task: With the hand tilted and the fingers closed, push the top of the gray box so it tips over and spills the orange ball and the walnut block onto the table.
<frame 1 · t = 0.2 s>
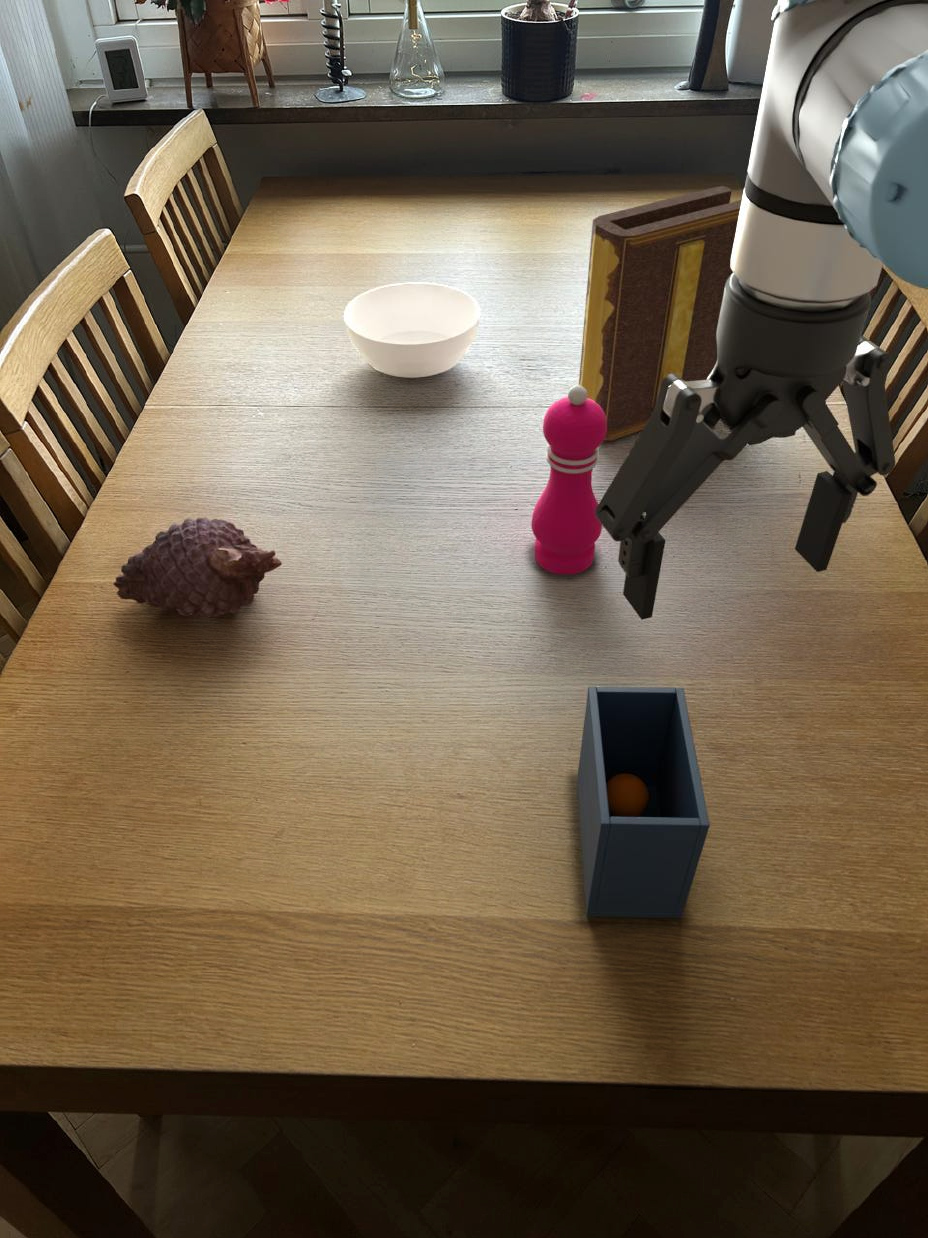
hand: (725, 582, 64), 21 cm above the table, tool pointing down, fingers open, 13 cm apart
walnut block: (630, 874, 70), point 1 cm above the table, touching gray box
pepper mill: (563, 557, 98), on the table
pine cone: (208, 601, 94), on the table
orange ball: (623, 809, 74), point 1 cm above the table, touching gray box
gray box: (626, 846, 73), on the table, touching orange ball, walnut block
book: (654, 410, 119), on the table
bowl: (414, 362, 129), on the table
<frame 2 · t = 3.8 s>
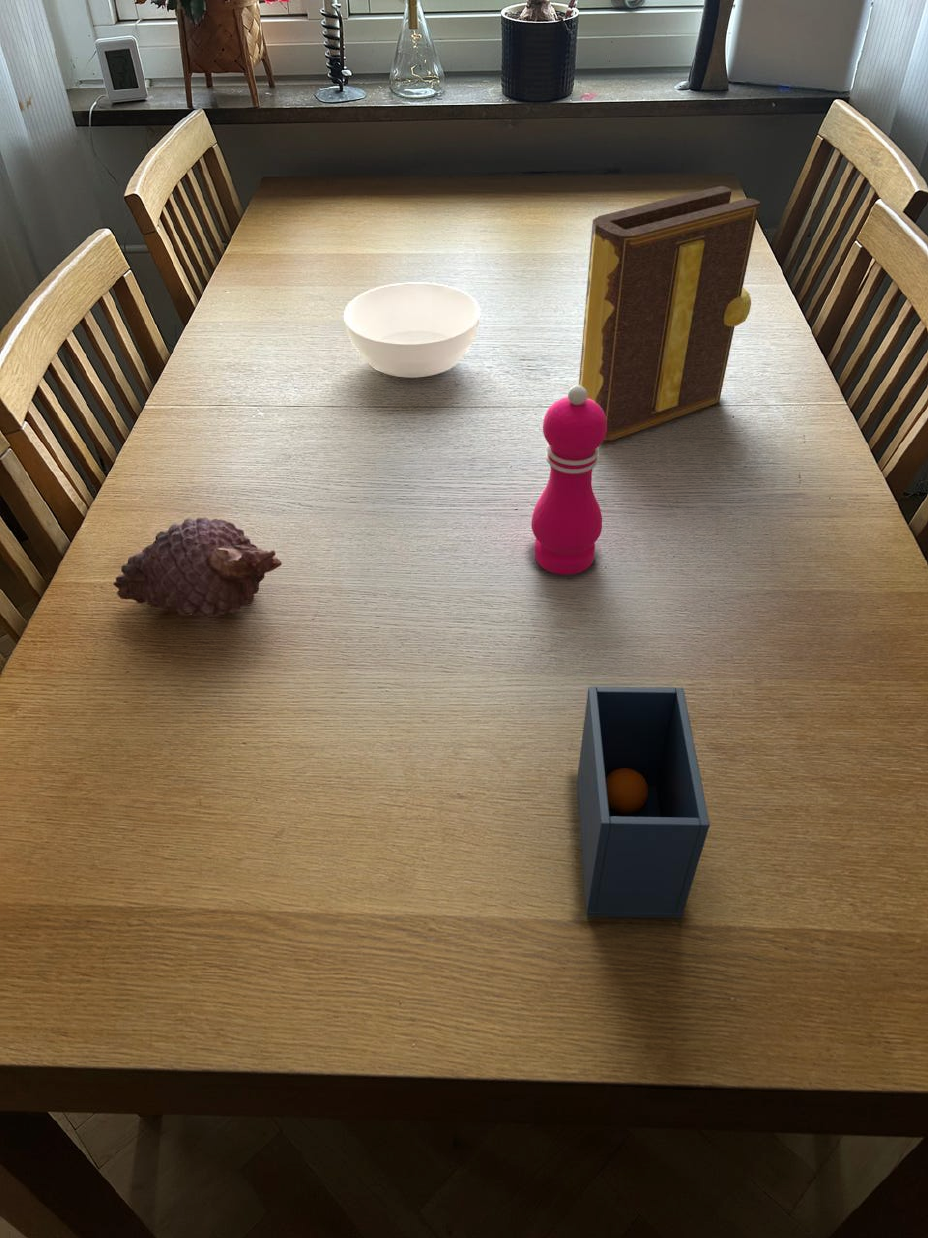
orange ball: (623, 809, 74), point 1 cm above the table, tilted 17°, touching gray box
everything else where it was.
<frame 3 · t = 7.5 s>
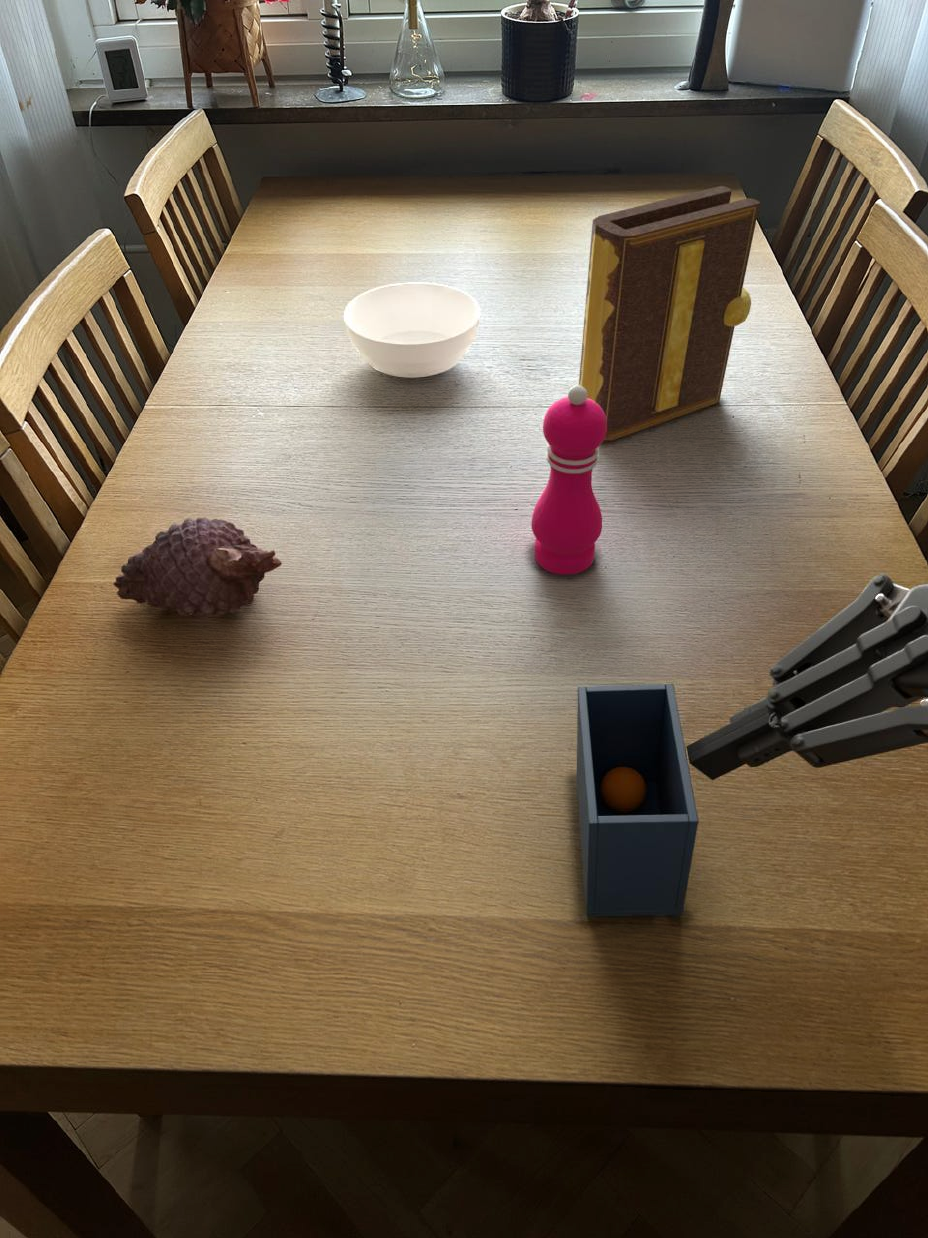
hand: (699, 763, 65), 11 cm above the table, tool tilted 45°, fingers closed
gray box: (626, 845, 72), on the table, touching gripper, orange ball, walnut block
everything else where it was.
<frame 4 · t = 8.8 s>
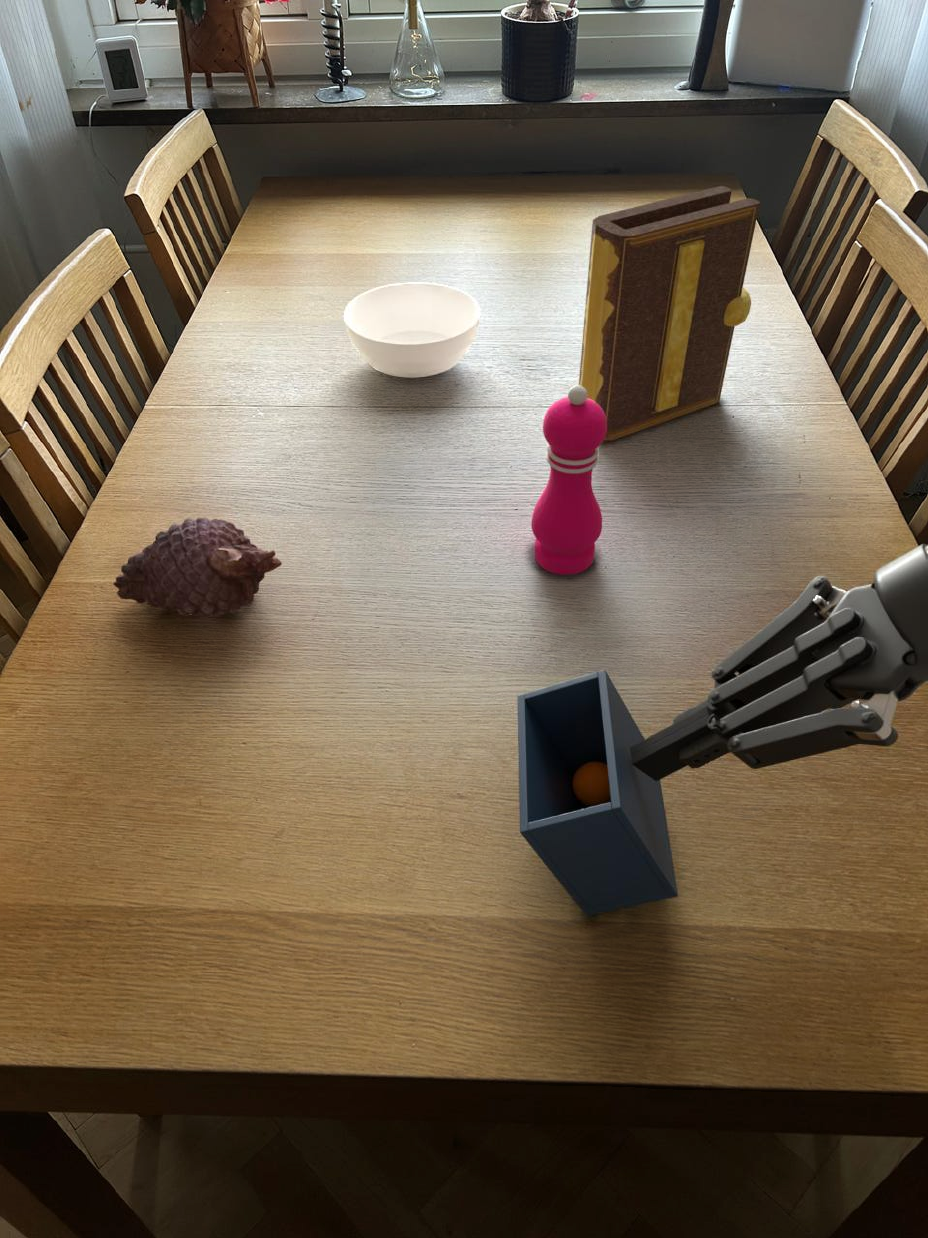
hand: (643, 764, 65), 10 cm above the table, tool tilted 45°, fingers closed
walnut block: (624, 863, 69), point 2 cm above the table, tilted 26°, touching gray box
orange ball: (614, 796, 73), point 2 cm above the table, tilted 63°, touching gray box
gray box: (623, 835, 71), point 2 cm above the table, tilted 26°, touching gripper, orange ball, walnut block
everything else where it was.
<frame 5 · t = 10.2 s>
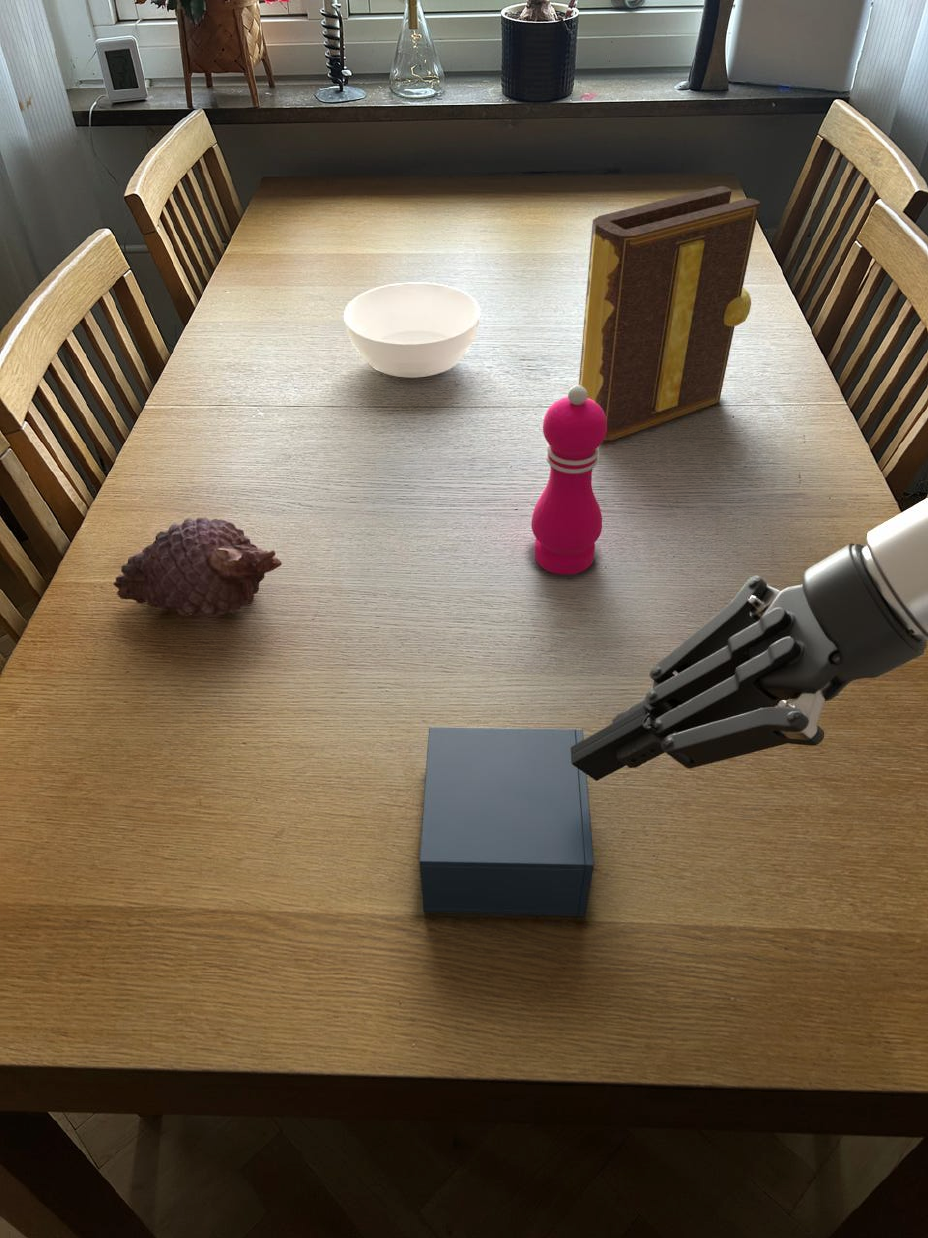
hand: (583, 764, 66), 10 cm above the table, tool tilted 45°, fingers closed
walnut block: (576, 858, 69), point 3 cm above the table, tilted 90°, touching gray box
orange ball: (457, 806, 75), point 1 cm above the table, tilted 17°, touching gray box
gray box: (584, 820, 70), point 4 cm above the table, tilted 90°, touching orange ball, walnut block
everything else where it was.
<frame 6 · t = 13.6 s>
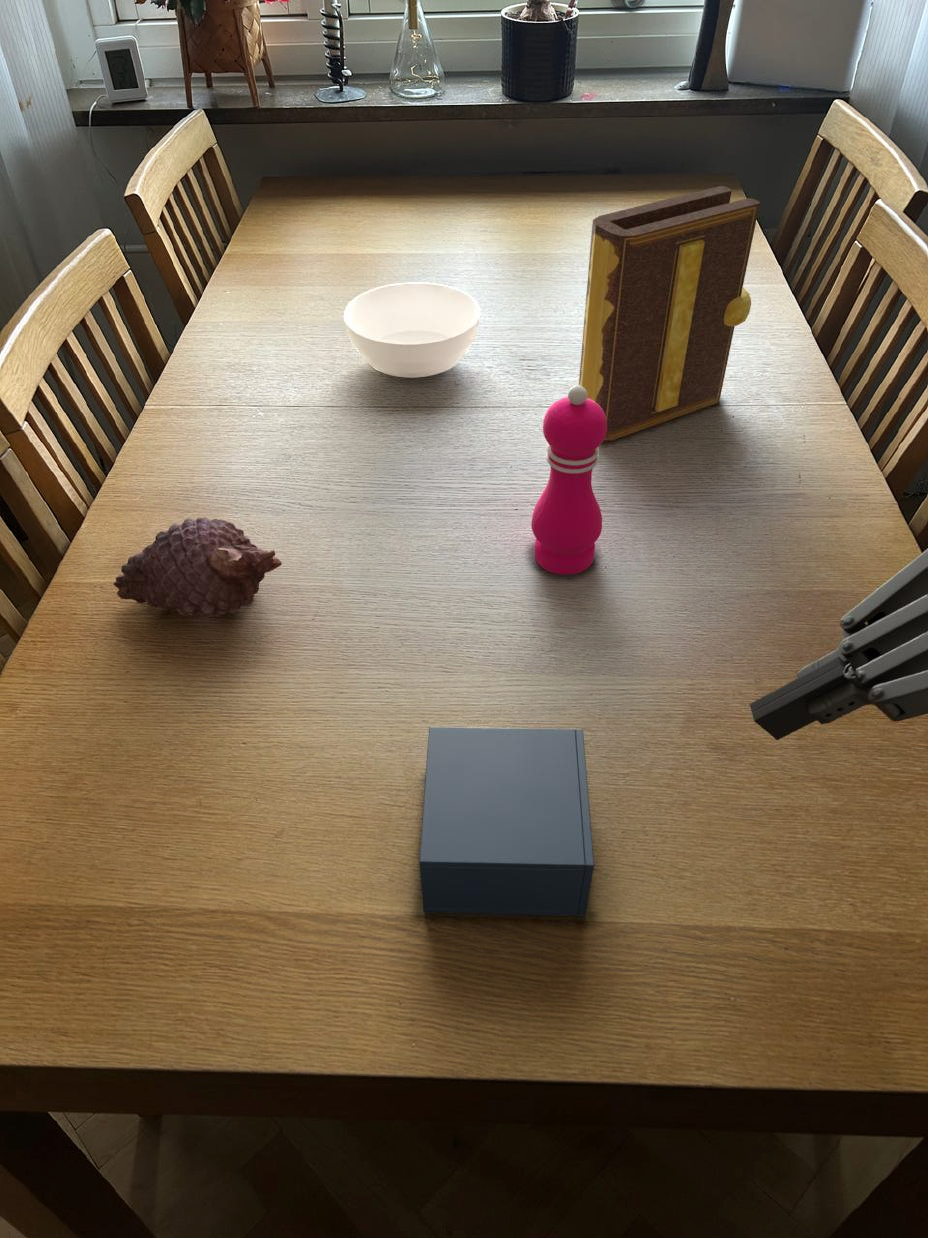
hand: (763, 722, 61), 16 cm above the table, tool tilted 45°, fingers closed
gray box: (584, 820, 70), point 4 cm above the table, tilted 90°, touching walnut block
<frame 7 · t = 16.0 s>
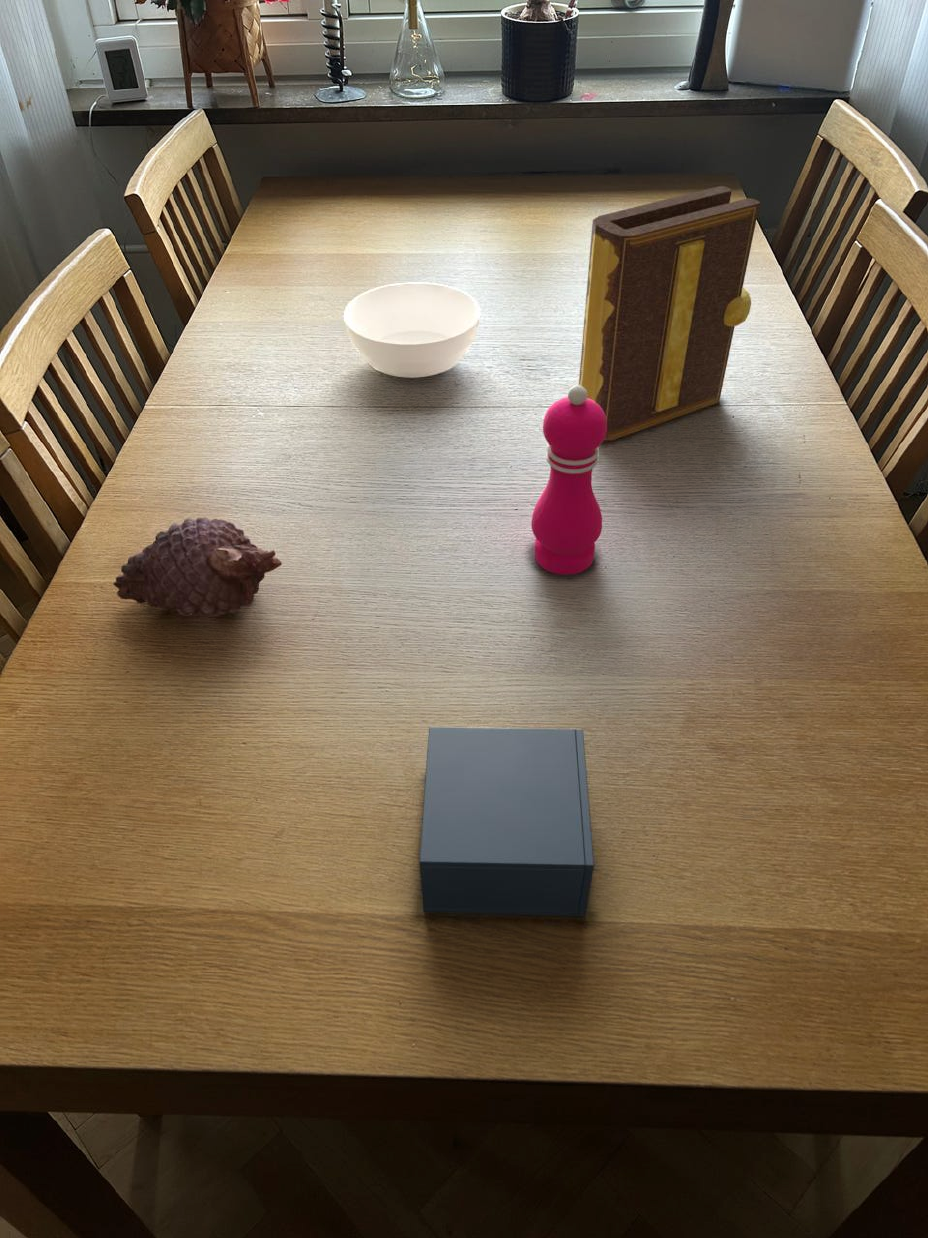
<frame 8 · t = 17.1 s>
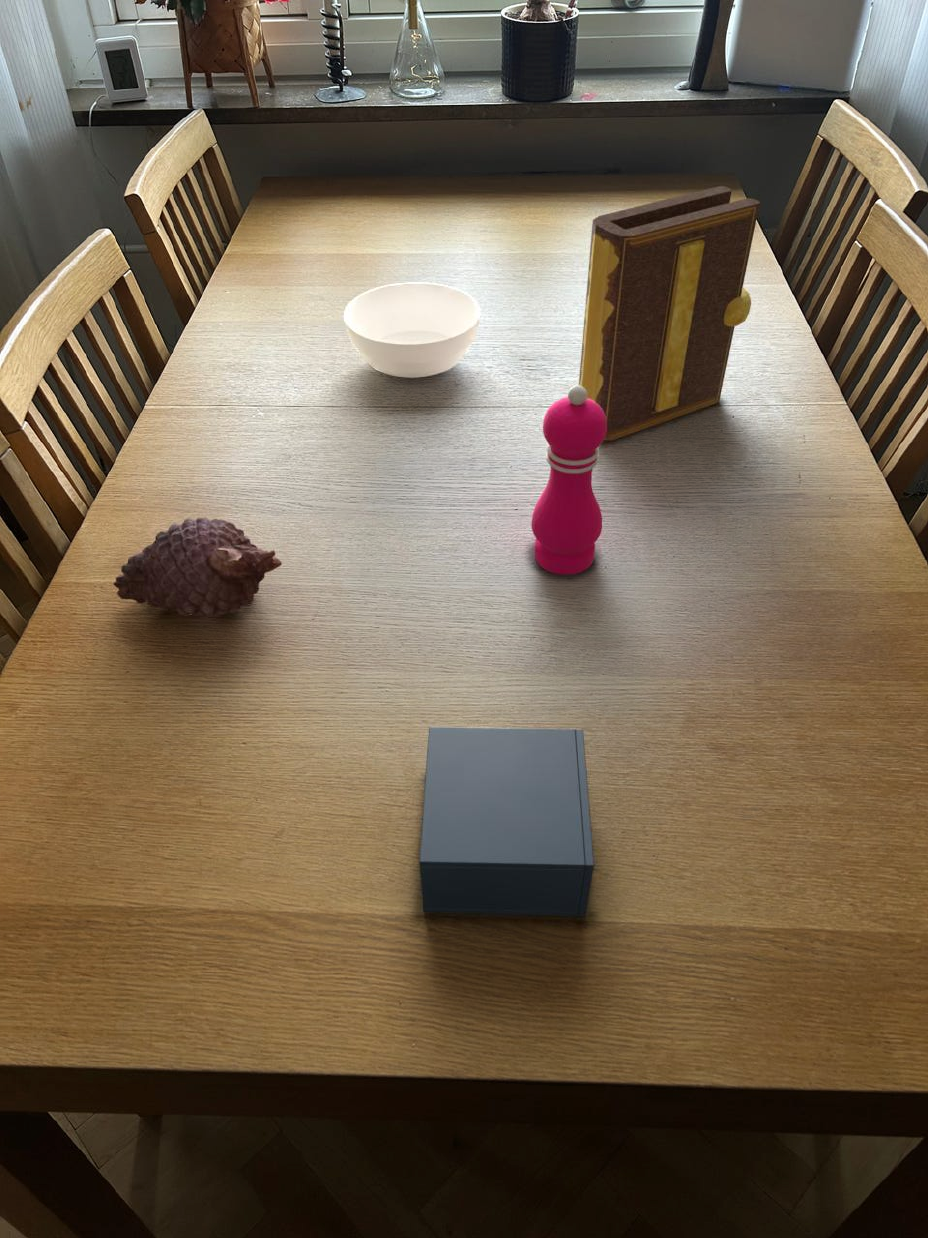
at the end: gray box tilted 90°; orange ball moved 234.6 cm from its start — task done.
